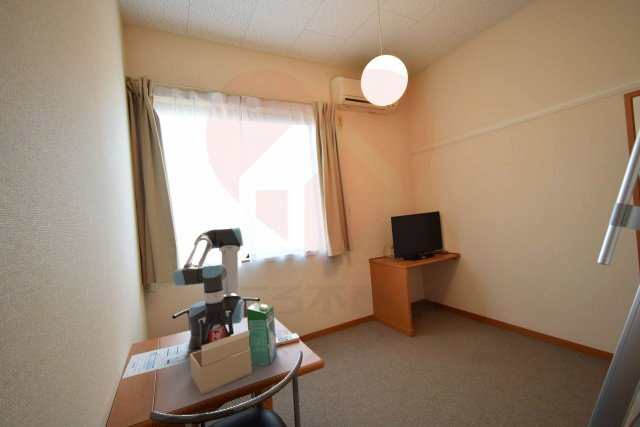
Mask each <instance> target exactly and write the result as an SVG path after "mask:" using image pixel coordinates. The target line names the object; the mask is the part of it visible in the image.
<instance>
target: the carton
mask: <svg viewBox="0 0 640 427" xmlns="http://www.w3.org/2000/svg"><path fill="white" fill-rule="evenodd" d="M189 362H190V376H191V379H192V381H193V383H194V384H195V386H196V387H197V389H198V391H199V393H200V394H201V396H204V395H206V394H209V393H211V392H213V391H215V390H218V389H220V388H222V387H225V386H227V385H229V384H231V383H233V382H236V381H239V380H241V379H243V378H245V377H248V376H250V375H252V374H253V366H252V365H253V364H251V352H250V348H249V349H248V350H245V351H242V352H240V353H237V354H234V355H232V356H229V357H226V358H224V359H222V360H219V361H216V362H213V363H210V364H208V365H205V366H202V350H200V351H197V352H194V353H191V354H189Z"/></svg>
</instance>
